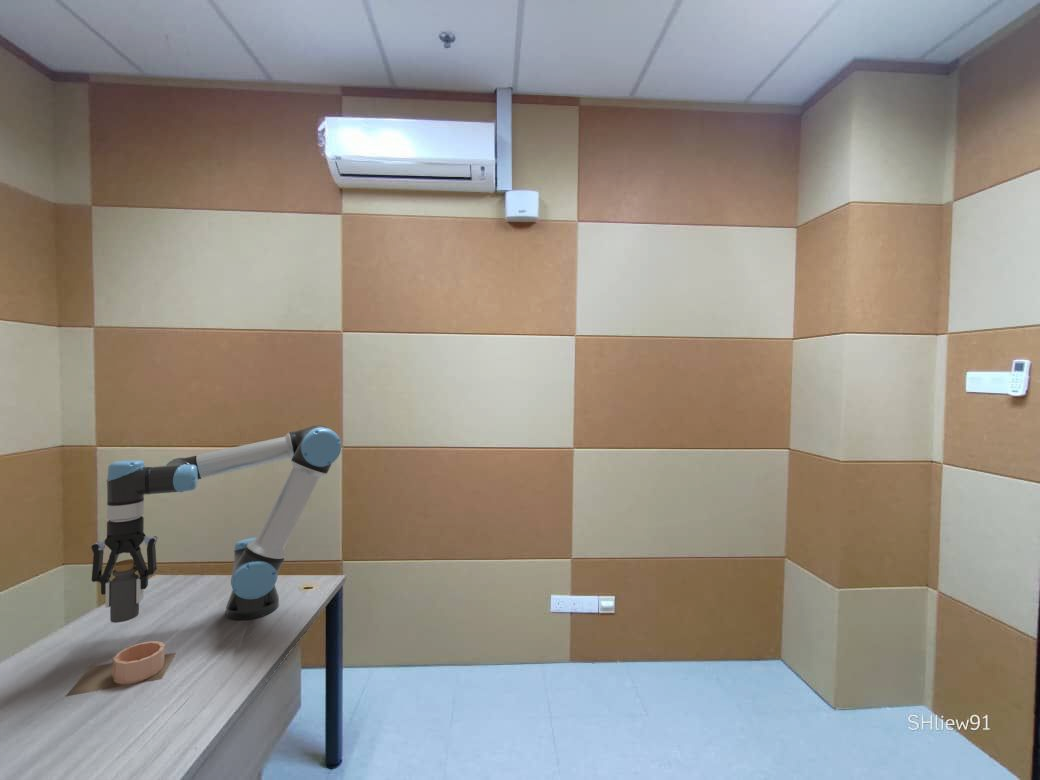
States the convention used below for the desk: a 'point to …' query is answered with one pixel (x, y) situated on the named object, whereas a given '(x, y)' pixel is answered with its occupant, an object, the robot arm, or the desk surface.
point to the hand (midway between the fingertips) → (124, 602)
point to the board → (109, 677)
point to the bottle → (123, 592)
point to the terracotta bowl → (138, 662)
